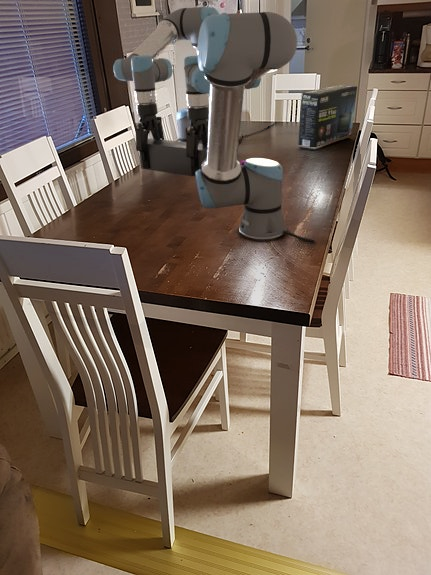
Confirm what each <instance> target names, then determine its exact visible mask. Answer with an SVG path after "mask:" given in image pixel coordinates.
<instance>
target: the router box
mask: <svg viewBox="0 0 431 575" xmlns="http://www.w3.org/2000/svg"><path fill="white" fill-rule="evenodd" d="M357 93H358V86H356V85H350V84H339V85H338V84H337V85H334V86H328V87H324V88H318V89H314V90H309V91H304V92H301V93H300V109H299V110H300V111H299V124H298V137H297V146H298V145H302V146H307V147H317V146H320V145H323V144H325V143H328V142H331V141H333V140H336V139H338V138H341V137H344V136H347V135H351V136H352V133H353V132H352V131H353V125H354V115H355V109H356V99H357ZM311 151H313V150H312V149H311Z"/></svg>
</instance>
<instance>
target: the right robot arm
mask: <svg viewBox="0 0 431 575" xmlns="http://www.w3.org/2000/svg"><path fill="white" fill-rule="evenodd" d="M297 48H298V36H297V32H296V30H295V27H294V26H293V24H292V23H291V22H290V21H289V20H288V19H287V18H286V17H284V16H283V15H281V14H279V13H277V12H276V13H275V12H273V11H262V12H237V13H233V12H232V13H227V12H222V13H219V14H217V15H210V16H208V17H206V18H205V19H204V21H203V22H202V25H201V27H200V31H199V37H198V47H197V51H198V56H197V55H189V56H185V57H184V60H183V62H184V64H183V66H184V67H183V70H184V78H185V79H184V80H185V93H186V94H185V95H186V106H187V107H186V108H187V115H188V119H190V120H191V124H190V127H189V128H187V127H186V157H189V158H190V160H191V172H192V175H193V176H192V177H194V176H196V177H195V182H196V188H197V192H198V196H199V200H200V204H201V205H202V207H203V208H204V209H220V208H228V207H235V206H244V211H243V213H242V216H241V220H240V222H239V226H238V232H239V235H240V236H241V237H242V238H244V239H247V240H250V241H254V242H271V241H277V240H279V239H281V238H283V237H285V235H287V236H289V237H292V238H294V239H298V240H300V241H303V242H307V243H313V244H314V243H315V239H312V238H307V237H302V236H300V235H298V234H295V233H292V232H289V231H287V223H286V221H285V216H284V214H283V210H282V200H283V183H284V174H283V173H284V172H283V171H284V170H283V166H282V164H280V163H279V162H278V161H275V160H272V159H268V158H263V157H250V158H247V159H245V160H244V161H245V162H244V165H242V164H241V162H240V161H239V160H238V154H239V145H240V139H239V136H240V130H241V124H242V115H243V105H244V95H245V90H251V89H255V88H256V89H257V88H258V87H259V86H260V84H261V82H262V77H263V76H266V75H267V74H268V73H269V72H270V71H272V70H273V71H275V70H279V69H281V68H283V67H285V66H286V65H287V64H289V63H290V62H291V61H292V59H293V58H294V56H295V54H296V52H297ZM208 93H210V101H209V96H208ZM208 105H209V107H208ZM208 118H209V121H207V119H208ZM200 138H201V141H202V144H205V145H208V150H207V159H206V160H204V162H203V163H202V170H199V164H198V158H197V150H198V144H199V139H200Z"/></svg>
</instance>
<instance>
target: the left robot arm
mask: <svg viewBox="0 0 431 575" xmlns="http://www.w3.org/2000/svg"><path fill="white" fill-rule="evenodd" d="M217 14H220V12H219V10H218V9H216V7H213V6H212V7H211V6H199V7H198V6H196V7H195V6H194V7H182V8H178V9H176V10H174V11H172V12H170V13H169V14H167V15H166V16H165V17H164V18H162V19H161V20H160V21H159V22H158V24H157V26H156V29H155V30H154V31H153V32H152V33H150V35H149V36H148V37H147V38H145V40H143V42H142V43H141V44H139V46H137V48H136V49H134V50H133V51H132V52H131V53H130V54H129V55H128V56H127V57H126V58H118V59H116V60H115V61H114V64H113V73H114V77H115V78H116V80H119V81H123V82H133V87H134V97H135V103H136V105H135V107H136V114H137V116H138V117H139V121H138V122H134V125H133V126H134V129H135V130H134V131H135V150H136V151H137V152H139V151H140V152H141V159H142V162H143V168H144V169H143V170H147V169H150V164H149V155H148V151H147V142H148V139H149V135H150V133H151V136H152V139H161V140H166V139H165V134H164V129H163V123H162V121H163V118H162V116H157V115H158V103H156V102H158V100H157V91H156V84H157V83H160V82H161V83H162V82H165V81H167V80H169V79H171V78H172V76H173V72H174V67H173V64H172V62H171V61H170V60H169V59H167V58H164V57H162V58H160V57H159V56H160V55H161V54H162V53H163V52H164V51H165V50H166V49H167V48H168V47H169V46H171V45H175V44H176V42H178V41H185V40H186V41H190V42H191V47H192V48H193V49H194V50H195V54H196V56H198V51H197V47H198V37H199V31H200V27H201V25H202V22H203V21H204V19H205V18H206V17H208V16H210V15H217ZM158 57H159V58H158ZM208 96H209V101H210V93H208ZM208 107H209V105H208ZM187 108H188V107H185V108H182V109H179V110H178V111H177V112H176V126H177V138H178V141H179V142H186V127H187V128H189V127H190V124H191V120H190V119H188V115H187ZM207 121H209V118H208V119H207ZM274 121H275V122H276V123H277V121H276V120H274ZM199 144H202V141H201V138H200V139H199ZM143 147H144V148H143Z"/></svg>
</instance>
